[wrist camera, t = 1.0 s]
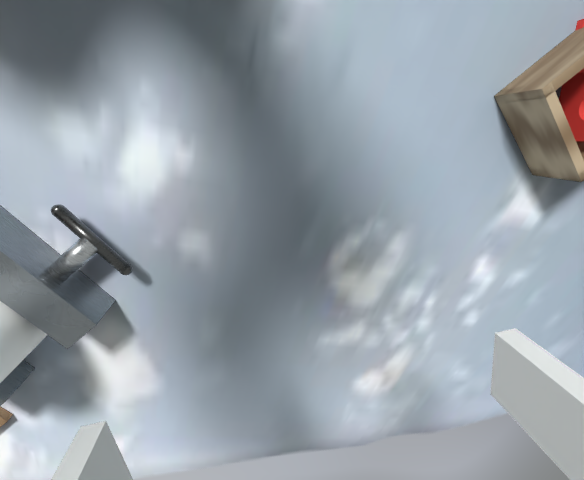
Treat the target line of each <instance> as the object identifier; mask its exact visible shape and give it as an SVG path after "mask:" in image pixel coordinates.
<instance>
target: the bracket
mask: <svg viewBox="0 0 584 480" xmlns="http://www.w3.org/2000/svg"><path fill="white" fill-rule="evenodd" d="M583 27H584V19H582V20H579V21H578V22H577V26H576V30H578V29H581V28H583ZM559 102H560V104H561V106H562V109H563V111H564V114H565V116H566V119H567V121H568V123H569V126H570V128H571V131H572V133H573V136H574V138H575V140H576V141H584V68H583V69H582V70H581V71H580V72H578V73H577V74H576V75H575V76H573V77H572V78H571V79H569V80H568V81H567V82H566V83H564V84H563V85H562V88H561V93H560V97H559Z"/></svg>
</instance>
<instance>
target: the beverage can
mask: <svg viewBox="0 0 584 480" xmlns="http://www.w3.org/2000/svg"><path fill="white" fill-rule="evenodd" d="M46 336H47V334H46V333H44V332H43V331H41V330H40V329H39V328H37V327H36V326H35V325H33V324H32V323H30V322H29V321H28V320H26V319H25V318H23V317H22V316H21V315H19V314H18V313H16V312H15V311H14V310H12V309H11V308H9V307H8V306H7V305H5V304H4V303H2V302H1V301H0V383H1V382H2V381H3V380H4V379H5V378H6V377H7V376H8V375H9V374H10V373H11V372H12V371H13V370H14V369H15V368H16V367H17V366H18V365H19V364H20V363H21V362H22V361H23V360H24V358H25V357H26V356H27V355H28V354H29V353H30V352H31V351H32V350H33V349H34V348H35V347H36V346H37V345H38V344H39V343H40V342H41V341H42V340H43V339H44V338H45V337H46Z"/></svg>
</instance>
